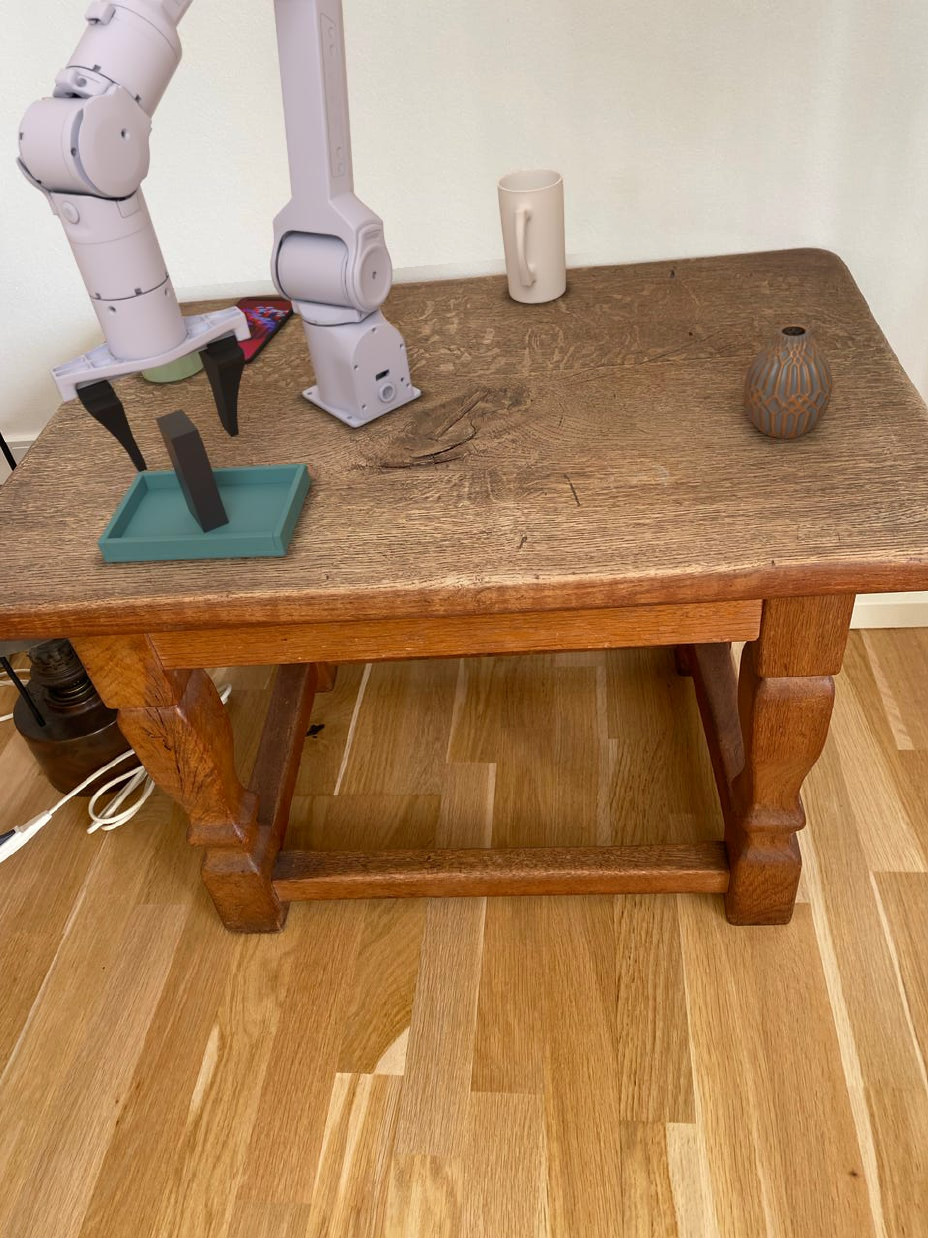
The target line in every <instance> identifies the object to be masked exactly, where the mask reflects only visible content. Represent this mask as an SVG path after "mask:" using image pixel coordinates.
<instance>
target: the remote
mask: <svg viewBox="0 0 928 1238" xmlns="http://www.w3.org/2000/svg"><path fill="white" fill-rule="evenodd" d="M155 422H156V424H157V427H158V430H159V433H160V435H161V436H162V437H161V438H162V440H163V443H164V445H165V448H166V449H165V450H166V452H167V454H168V457H169V459H170V462H171V465H172V468H173V470H174V471H175V473H176V476H177V479H178V482H179V484H180V487H181V490H182V493H183V495H184V498H185V501H186V504H187V506H188V509H189V511H190V513H191V514H192V516H193V517H194V519H195V520H196V522H197V523H198V524H199V526H200V527H201V529H202V530H203V532H204V533H206V532H209V531H211V530H213V529H216V528H218V527H221V526H223V525H226V524H228V523H229V521H228V518H227V515H226V512H225V509H224V506H223V503H222V500H221V497H220V494H219V491H218V488H217V483H216V480H215V477H214V474H213V471H212V468H213V467H212V464H211V462H210V458H209V456H208V452H207V450H206V447H205V444H204V441H203V438H202V437H201V435H200V431H199V429H198V427H196V425H195V424H194V422H193V421H192V420H191V419H190V418H189V416H188V415H187V414H186V413H185V411H184V410H183V409H178V410H175V411H173V412H170V413H167V414H164V415H162V416H159V417H157V418H155Z"/></svg>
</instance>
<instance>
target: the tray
mask: <svg viewBox="0 0 928 1238" xmlns="http://www.w3.org/2000/svg"><path fill="white" fill-rule="evenodd" d="M211 468H212V471H213V474H214V477H215V480H216V483H217V488H218V491H219V494H220V497H221V500H222V503H223V506H224V509H225V512H226V515H227V518H228V521H229V523H228V524H226V525H223V526H221V527H218V528H216V529H213V530H211V531H209V532H206V533H204V532H203V530H202V529H201V527H200V526H199V524H198V523H197V522H196V520H195V519H194V517H193V516H192V514H191V513H190V511H189V509H188V506H187V504H186V501H185V498H184V495H183V493H182V490H181V487H180V484H179V482H178V479H177V476H176V473H175V471H174V469H168V470H149V471H148V470H146V471H142V472H138V471H137V474H136V475H135V477H134V478H133V481H132V482H131V485H130V486H129V488H128V490H127V491H126V493H125V494H124V496H123V498H122V500H121V502H120V504H119V505H118V507H117V508H116V510H115V512H114V513H113V515H112V517H111V518H110V520H109V521H108V524H107V525H106V527H105V529H104V530H103V532H102V533H101V536H100V538H99V539H98V541H97V543H96V544H97V546H98V548H99V550H100V552H101V555H102V557H103V559H104V561H105V563H125V562H126V563H127V562H153V561H154V562H155V561H178V560H203V559H204V560H205V559H230V558H233V559H235V558H259V557H260V558H261V557H281V556H282V557H283V556H286V555H287V553H288V549H289V546H290V543H291V542H292V538H293V535H294V532H295V529H296V526H297V523H298V521H299V518H300V515H301V512H302V509H303V507H304V504H305V501H306V498H307V495H308V492H309V489H310V486H311V483H312V481H311V478H310V477H311V476H310V473H309V469H308V465H307V463H306V462H305V463H286V464H285V463H284V464H267V465H248V466H246V465H245V466H229V467H227V466H226V467H211Z"/></svg>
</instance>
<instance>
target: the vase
mask: <svg viewBox="0 0 928 1238" xmlns="http://www.w3.org/2000/svg"><path fill="white" fill-rule="evenodd" d="M832 390H833V375H832V369H831V365H830V362H829V359H828V358H827V356H826V354H825V353H824V352H823V350H822V349H821V348H820V346H819V345H818V343H817V342H816V341H815V340H814V338H813V335H812V333H811V331H810V328H809V327H808V326H806V325H805V324H801V323H787V324H784V325H782V326H780V327H779V328H778V329H777V331H776V332H775V334H774V336H773V337H772V339H770V340H769V342H768V343H767V344H765V345H764V346H763V347H762V349H761V350H760V351H759V352H758V353H757V354H756V355H755V356H754V358H753V360H752V361H751V363H750V365H749V368H748V370H747V372H746V376H745V379H744V386H743V401H744V407H745V411H746V414H747V416H748V418H749V420H750V421H751V423H752V424H753V425H754V426H755V427H756V428H757V429H758V430H759V431H760V432H761V433H763V434H764V435H766V436H767V437H768V436H769V437H772V438H776V439H793V438H798V437H800V436H802V435H805V434H806V433H808V432H809V431H810V430H812V429H813V428H814V427H816V425H817V424H819V423H820V422H821V420H822V418H823V417H824V416H825V413H826V412H827V410H828V408H829V405H830V401H831V397H832V392H833V391H832Z"/></svg>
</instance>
